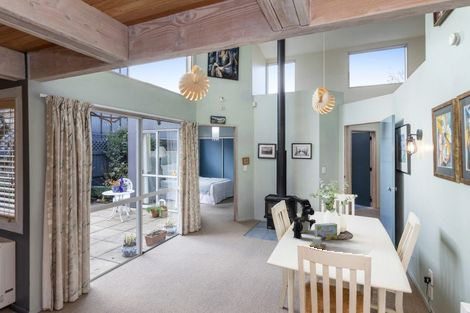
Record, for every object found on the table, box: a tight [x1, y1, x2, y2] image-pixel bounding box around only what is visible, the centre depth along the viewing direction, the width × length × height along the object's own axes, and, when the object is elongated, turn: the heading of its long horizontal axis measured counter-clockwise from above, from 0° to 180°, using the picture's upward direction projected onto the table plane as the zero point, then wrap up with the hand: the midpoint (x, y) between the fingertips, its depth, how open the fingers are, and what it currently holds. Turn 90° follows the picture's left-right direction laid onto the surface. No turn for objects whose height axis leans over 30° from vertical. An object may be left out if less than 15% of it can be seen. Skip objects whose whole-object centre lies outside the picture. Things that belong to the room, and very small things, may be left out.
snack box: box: [314, 222, 338, 242], centre depth 244 cm, size 21×6×15 cm, turn 101°
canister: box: [296, 211, 311, 234], centre depth 269 cm, size 18×18×21 cm
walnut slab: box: [309, 241, 327, 251], centre depth 224 cm, size 11×11×3 cm
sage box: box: [313, 236, 323, 246], centre depth 224 cm, size 5×5×7 cm
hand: (305, 229), depth 239 cm, fingers open, 9 cm apart
